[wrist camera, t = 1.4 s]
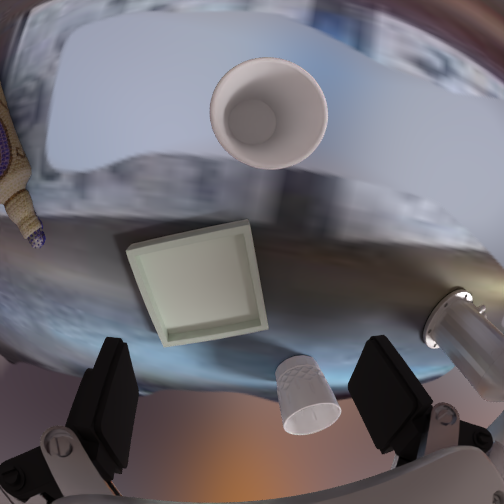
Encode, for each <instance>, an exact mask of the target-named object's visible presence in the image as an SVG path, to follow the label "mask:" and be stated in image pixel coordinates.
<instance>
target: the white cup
mask: <svg viewBox="0 0 504 504" xmlns="http://www.w3.org/2000/svg"><path fill="white" fill-rule="evenodd" d="M275 376H276V381H277V392H278V398H279V405H280V411H281V416H282V422H283V427H284V430H285V431H286V432H288V433H290V434H294V435H306V434H311V433H315V432H318V431H321V430H323V429H325V428H327V427H328V426H330V425H332V423H334V422H335V421H336V420H337V419H338V418H339V416H340V414H341V408H340V406H339V404H338V402H337V400H336V398H335V396H334V394H333V392H332V390H331V388H330V386H329V384H328V382H327V380H326V378H325V376H324V374H323V373H322V371H321V370H320V368H319V365H318V363H317V362H316V361H315V360H314V359H313V358H312V357H309V356H306V355H300V356H293V357H291V358H289V359H286V360H284V361H283V362H282V363H281V364H280V365H279V366H278V367H277V369H276V372H275Z"/></svg>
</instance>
